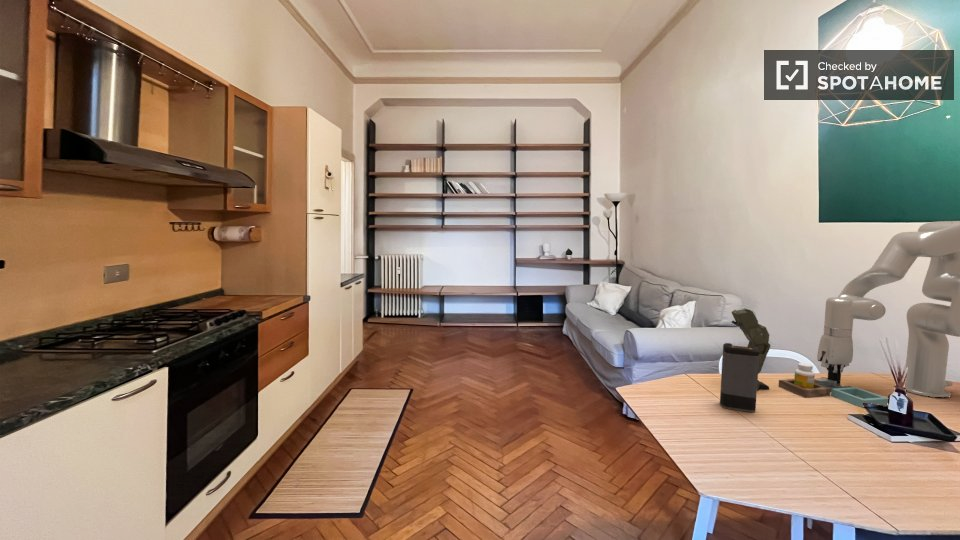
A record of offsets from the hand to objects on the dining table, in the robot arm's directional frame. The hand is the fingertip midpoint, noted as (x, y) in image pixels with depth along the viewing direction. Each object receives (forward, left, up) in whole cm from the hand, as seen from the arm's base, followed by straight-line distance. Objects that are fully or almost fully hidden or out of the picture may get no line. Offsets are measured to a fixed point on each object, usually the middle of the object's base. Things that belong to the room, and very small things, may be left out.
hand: (833, 382), depth 143 cm
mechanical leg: (+29, -7, -3) cm, 30 cm away
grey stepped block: (+5, 0, -2) cm, 5 cm away
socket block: (+13, 0, -2) cm, 13 cm away
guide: (+1, 0, -2) cm, 3 cm away
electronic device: (+47, +8, -3) cm, 47 cm away
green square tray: (+2, +10, -2) cm, 11 cm away
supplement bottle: (+13, 0, -3) cm, 13 cm away
